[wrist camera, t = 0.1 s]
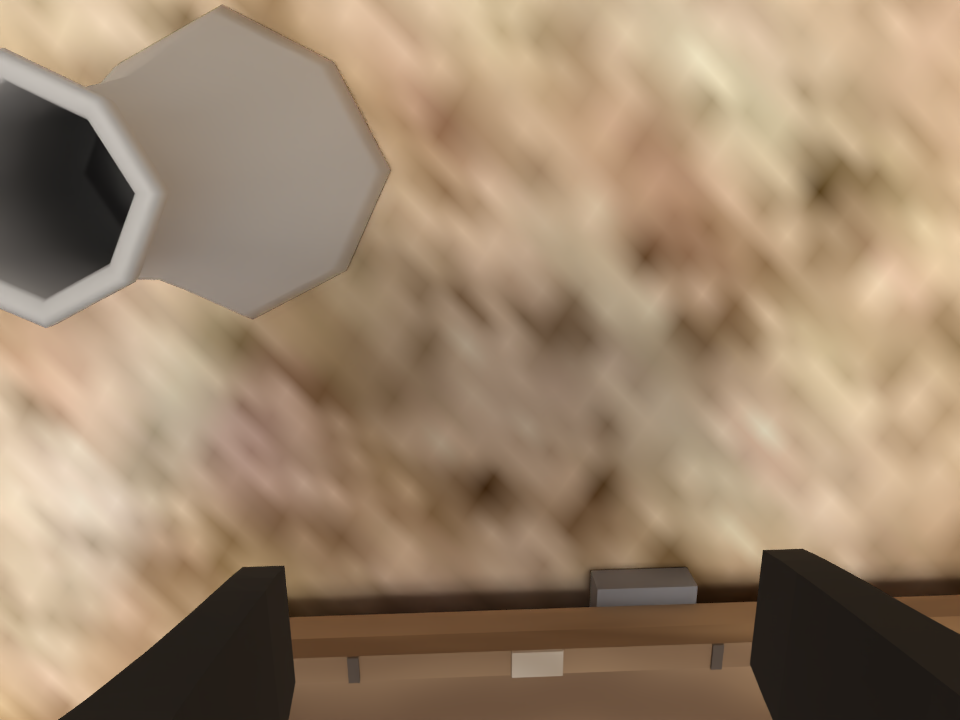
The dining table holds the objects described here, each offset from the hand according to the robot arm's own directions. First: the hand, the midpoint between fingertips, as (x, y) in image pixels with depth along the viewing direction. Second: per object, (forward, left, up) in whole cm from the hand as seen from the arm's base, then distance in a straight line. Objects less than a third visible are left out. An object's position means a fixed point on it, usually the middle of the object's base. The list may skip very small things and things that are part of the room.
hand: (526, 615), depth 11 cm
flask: (+6, +6, -10) cm, 14 cm away
